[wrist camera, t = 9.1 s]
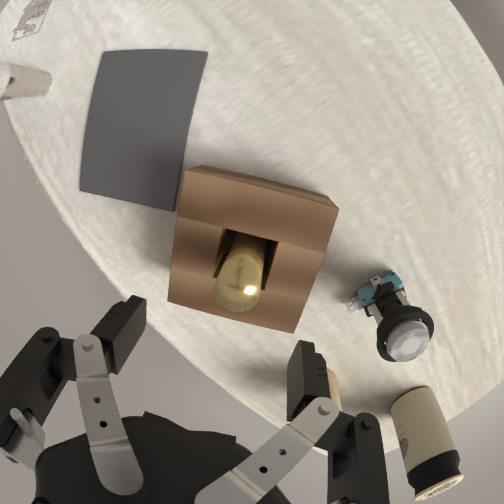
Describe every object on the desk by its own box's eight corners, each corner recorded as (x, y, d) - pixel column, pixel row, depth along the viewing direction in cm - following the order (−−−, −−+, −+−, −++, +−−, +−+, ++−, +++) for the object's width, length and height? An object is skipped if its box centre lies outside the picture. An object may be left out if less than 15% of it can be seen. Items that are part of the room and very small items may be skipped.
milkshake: (46, 58, 20) (-10, 51, 11) (60, 79, 22) (-1, 73, 12) (28, 86, 22) (-27, 85, 12) (41, 108, 23) (-19, 110, 14)
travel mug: (439, 382, 33) (476, 469, 16) (420, 411, 36) (445, 491, 19) (400, 388, 34) (430, 487, 17) (383, 417, 37) (402, 506, 20)
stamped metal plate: (58, -7, 16) (52, -9, 15) (41, 33, 19) (34, 31, 18) (28, 5, 16) (22, 4, 15) (13, 42, 19) (7, 41, 17)
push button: (352, 319, 29) (373, 384, 20) (336, 283, 28) (357, 346, 19) (403, 294, 28) (440, 351, 19) (392, 256, 26) (435, 307, 17)
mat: (105, 52, 20) (103, 51, 20) (208, 53, 20) (207, 51, 20) (81, 190, 27) (79, 190, 26) (174, 210, 27) (172, 211, 26)
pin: (239, 222, 26) (217, 266, 17) (269, 229, 26) (265, 278, 17) (232, 250, 28) (210, 305, 18) (262, 257, 28) (253, 316, 18)
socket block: (202, 165, 25) (185, 170, 20) (328, 196, 25) (339, 209, 20) (183, 277, 29) (167, 301, 25) (291, 304, 29) (293, 333, 25)
